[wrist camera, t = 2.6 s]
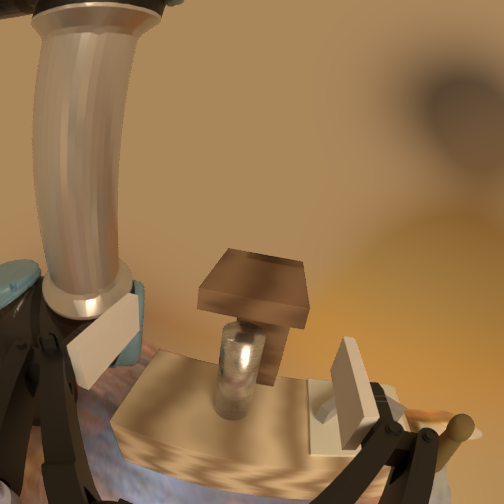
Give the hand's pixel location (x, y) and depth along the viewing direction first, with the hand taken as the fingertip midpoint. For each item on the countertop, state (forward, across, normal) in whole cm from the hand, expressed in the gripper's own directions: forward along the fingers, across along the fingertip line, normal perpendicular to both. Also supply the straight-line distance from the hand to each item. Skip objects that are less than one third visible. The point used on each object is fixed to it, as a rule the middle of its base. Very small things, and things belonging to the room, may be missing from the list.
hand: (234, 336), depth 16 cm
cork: (+8, +36, -28) cm, 46 cm away
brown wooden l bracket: (+12, +1, -18) cm, 21 cm away
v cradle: (+10, +17, -18) cm, 27 cm away
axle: (+10, 0, -18) cm, 20 cm away
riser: (+10, +6, -28) cm, 30 cm away
